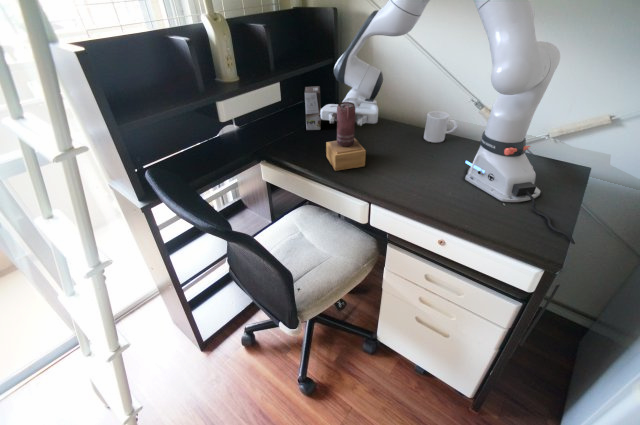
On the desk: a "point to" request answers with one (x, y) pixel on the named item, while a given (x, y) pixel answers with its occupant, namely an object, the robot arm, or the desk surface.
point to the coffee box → (313, 108)
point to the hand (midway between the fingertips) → (345, 122)
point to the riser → (345, 155)
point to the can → (345, 124)
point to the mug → (437, 126)
